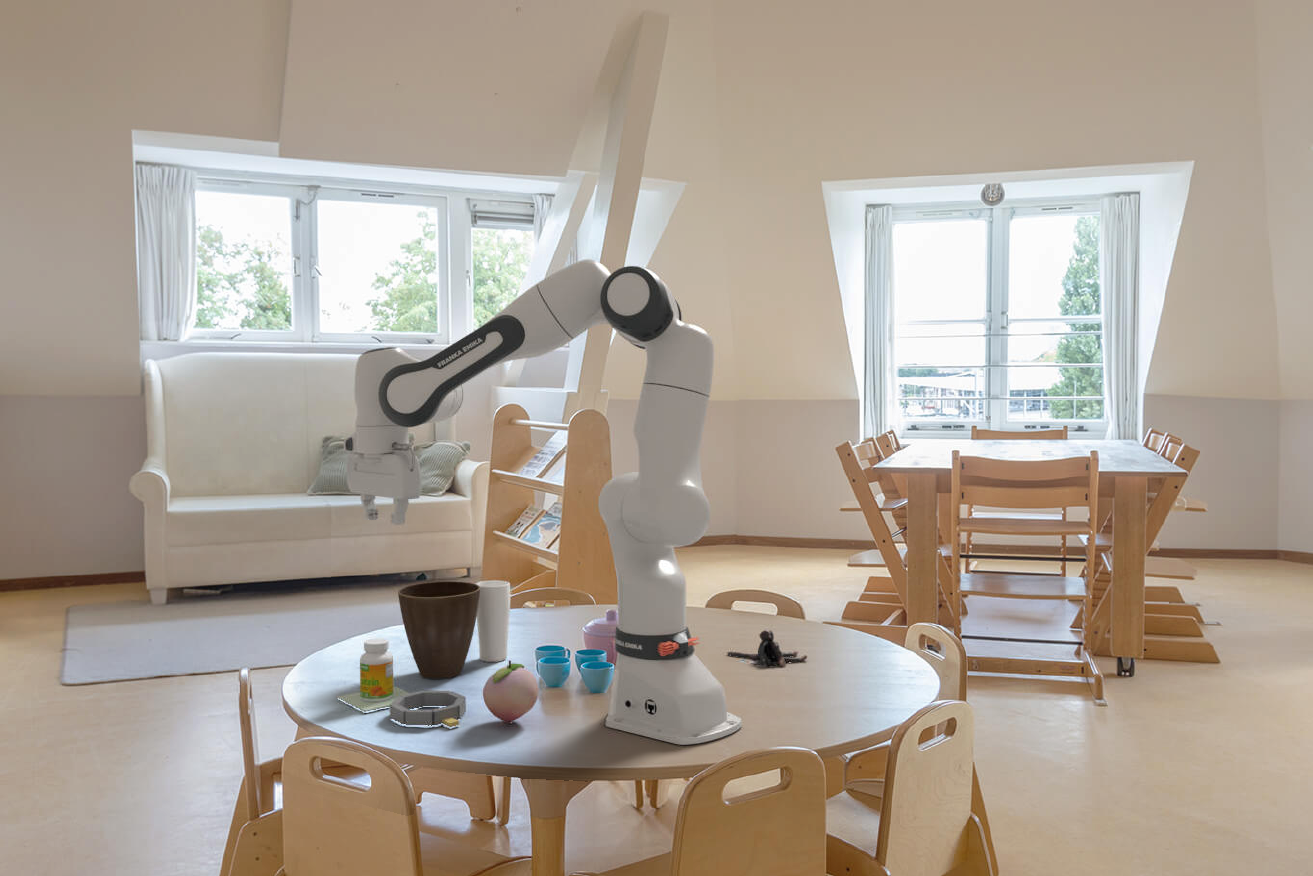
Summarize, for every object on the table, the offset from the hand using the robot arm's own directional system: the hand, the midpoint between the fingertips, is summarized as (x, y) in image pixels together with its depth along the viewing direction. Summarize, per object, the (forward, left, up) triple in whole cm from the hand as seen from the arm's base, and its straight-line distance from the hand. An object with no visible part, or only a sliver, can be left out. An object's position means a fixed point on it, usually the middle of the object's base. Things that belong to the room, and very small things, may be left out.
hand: (384, 522), depth 171 cm
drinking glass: (+6, -26, -30) cm, 40 cm away
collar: (-16, +1, -30) cm, 34 cm away
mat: (-3, +3, -30) cm, 30 cm away
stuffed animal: (-31, -65, -31) cm, 78 cm away
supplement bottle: (-4, +4, -30) cm, 30 cm away
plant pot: (+4, -13, -30) cm, 33 cm away
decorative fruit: (-28, -7, -30) cm, 42 cm away
